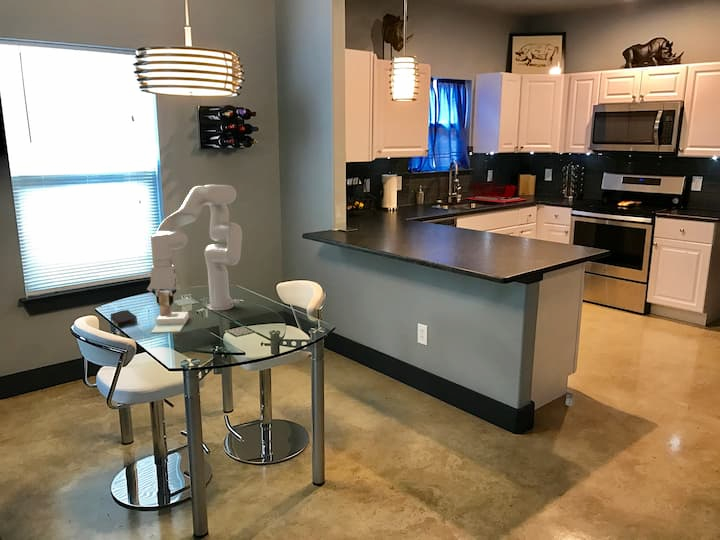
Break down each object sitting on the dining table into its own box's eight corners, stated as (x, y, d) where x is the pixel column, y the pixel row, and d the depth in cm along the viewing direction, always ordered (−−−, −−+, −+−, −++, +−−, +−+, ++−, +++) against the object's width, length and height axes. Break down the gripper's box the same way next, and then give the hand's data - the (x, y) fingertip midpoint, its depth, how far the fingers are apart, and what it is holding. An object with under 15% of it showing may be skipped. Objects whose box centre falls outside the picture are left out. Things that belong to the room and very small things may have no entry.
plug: (171, 313, 250) (170, 291, 248) (169, 316, 246) (168, 293, 244) (162, 313, 250) (160, 291, 248) (160, 316, 246) (158, 293, 244)
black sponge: (138, 325, 258) (138, 317, 257) (119, 329, 253) (118, 321, 252) (128, 316, 271) (127, 309, 270) (109, 320, 266) (108, 312, 265)
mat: (184, 326, 255) (183, 324, 255) (179, 333, 246) (179, 331, 246) (156, 327, 254) (156, 325, 254) (151, 334, 245) (150, 332, 245)
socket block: (188, 318, 266) (188, 311, 265) (184, 325, 256) (183, 318, 255) (162, 319, 264) (161, 312, 264) (156, 326, 255) (156, 319, 254)
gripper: (184, 260, 248) (186, 301, 252) (144, 261, 246) (147, 302, 250) (180, 264, 240) (183, 306, 244) (139, 265, 239) (143, 307, 243)
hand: (165, 304), depth 247 cm, fingers closed on plug, 4 cm apart
